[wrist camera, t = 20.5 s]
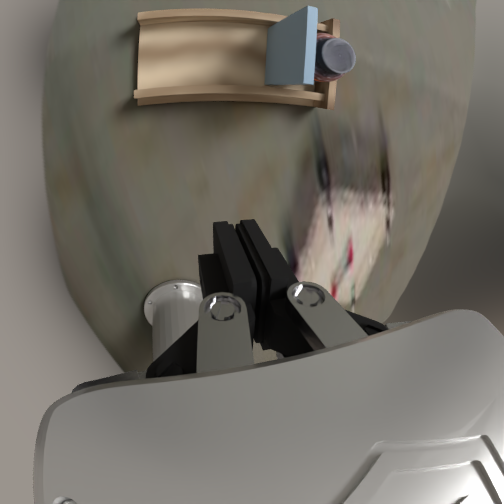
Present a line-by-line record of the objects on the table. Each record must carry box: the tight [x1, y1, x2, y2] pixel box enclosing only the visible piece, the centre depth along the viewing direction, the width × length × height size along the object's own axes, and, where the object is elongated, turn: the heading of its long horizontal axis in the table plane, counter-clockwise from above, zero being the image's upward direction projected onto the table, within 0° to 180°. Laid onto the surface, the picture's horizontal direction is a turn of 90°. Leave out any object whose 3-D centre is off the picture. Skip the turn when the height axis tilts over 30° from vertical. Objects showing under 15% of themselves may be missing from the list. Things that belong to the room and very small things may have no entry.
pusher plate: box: [264, 6, 318, 85], centre depth 24 cm, size 8×1×12 cm, turn 177°
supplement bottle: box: [314, 33, 356, 82], centre depth 25 cm, size 6×6×11 cm
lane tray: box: [134, 9, 340, 110], centre depth 26 cm, size 13×24×5 cm, turn 87°
